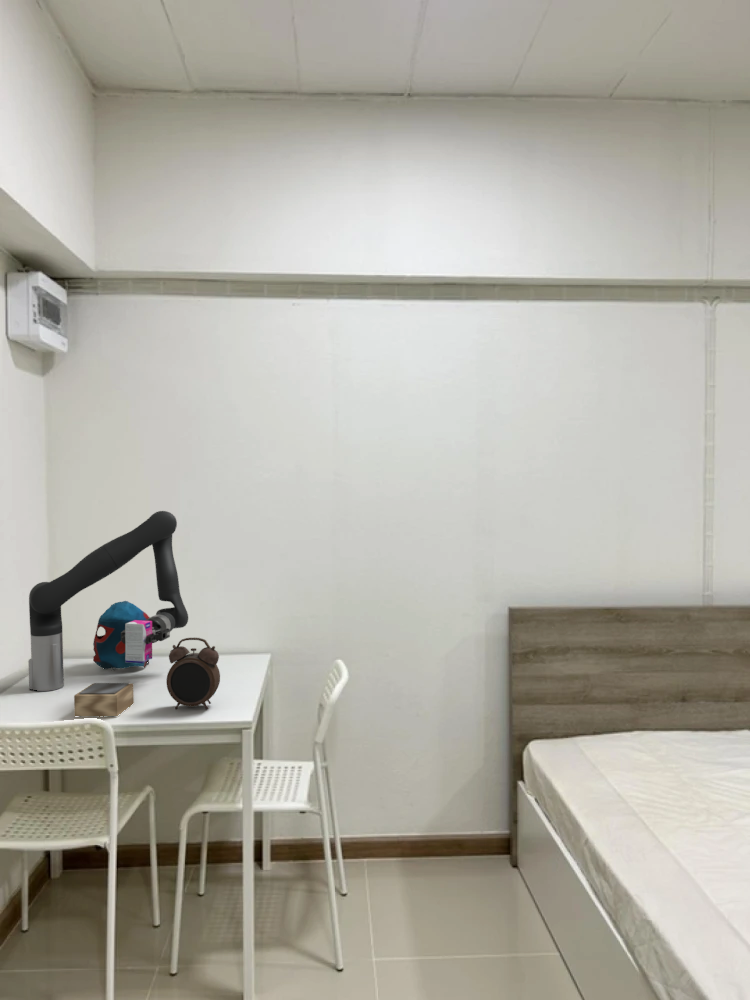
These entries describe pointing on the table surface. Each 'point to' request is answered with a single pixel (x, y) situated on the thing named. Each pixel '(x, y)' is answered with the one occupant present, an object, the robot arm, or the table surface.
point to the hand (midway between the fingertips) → (135, 640)
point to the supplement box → (137, 641)
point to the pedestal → (104, 699)
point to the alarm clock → (193, 674)
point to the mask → (115, 635)
